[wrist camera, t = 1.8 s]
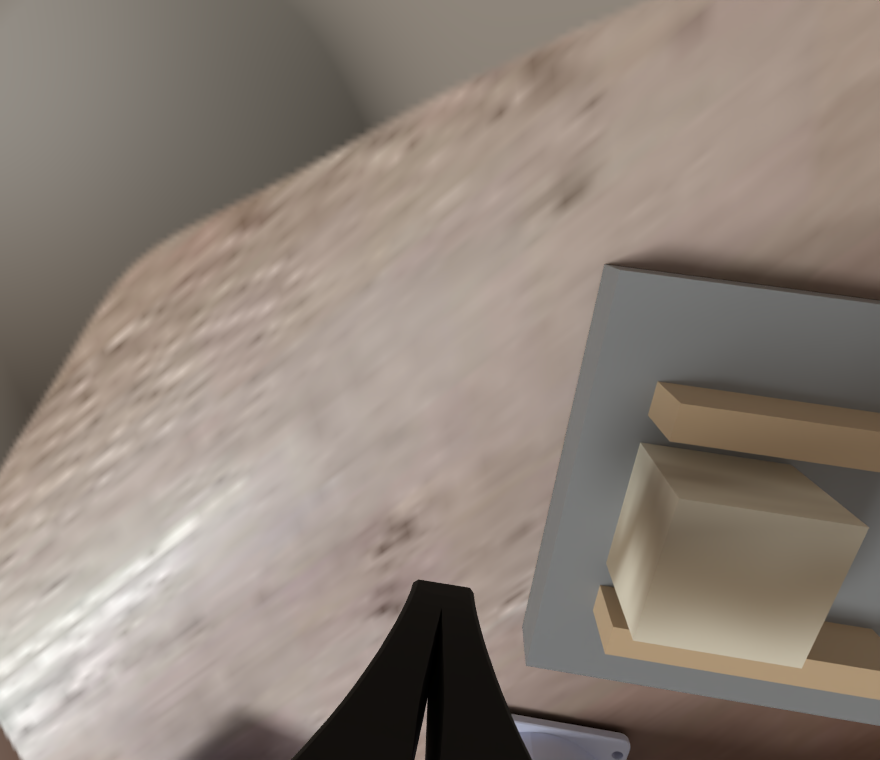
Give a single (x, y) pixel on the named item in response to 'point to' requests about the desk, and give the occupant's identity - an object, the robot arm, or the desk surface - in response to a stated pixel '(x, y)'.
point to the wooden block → (729, 555)
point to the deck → (721, 432)
